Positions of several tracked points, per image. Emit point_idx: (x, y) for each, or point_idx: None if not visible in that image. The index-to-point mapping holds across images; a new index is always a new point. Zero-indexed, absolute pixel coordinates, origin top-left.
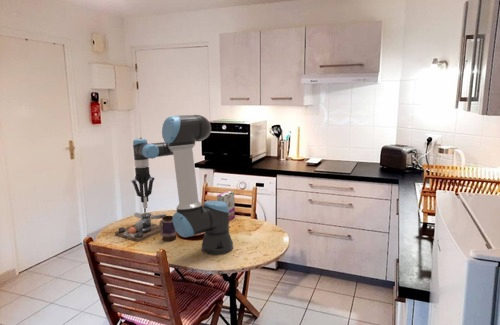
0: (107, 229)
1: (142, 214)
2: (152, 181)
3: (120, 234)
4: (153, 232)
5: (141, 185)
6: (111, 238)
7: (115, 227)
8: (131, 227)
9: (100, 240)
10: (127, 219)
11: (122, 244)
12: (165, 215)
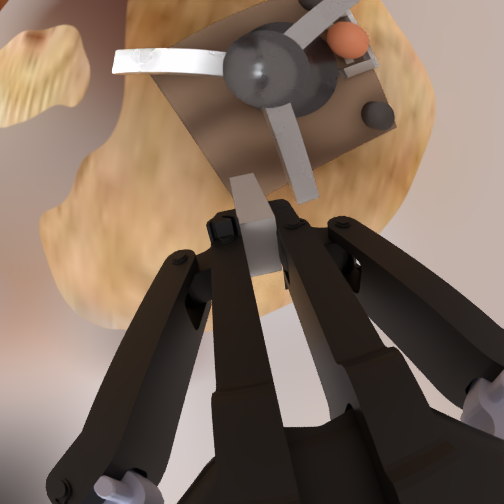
0: (389, 215)
1: (293, 84)
2: (90, 440)
3: (382, 91)
4: (233, 14)
5: (377, 350)
6: (405, 101)
7: (360, 222)
8: (361, 35)
9: (434, 112)
10: (289, 295)
11: (380, 13)
12: (121, 51)
